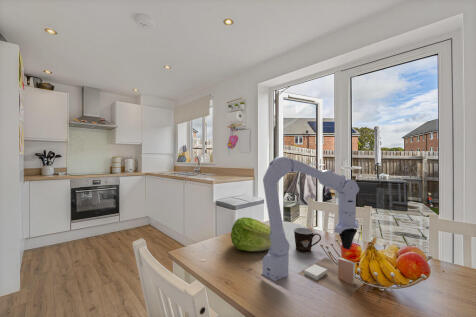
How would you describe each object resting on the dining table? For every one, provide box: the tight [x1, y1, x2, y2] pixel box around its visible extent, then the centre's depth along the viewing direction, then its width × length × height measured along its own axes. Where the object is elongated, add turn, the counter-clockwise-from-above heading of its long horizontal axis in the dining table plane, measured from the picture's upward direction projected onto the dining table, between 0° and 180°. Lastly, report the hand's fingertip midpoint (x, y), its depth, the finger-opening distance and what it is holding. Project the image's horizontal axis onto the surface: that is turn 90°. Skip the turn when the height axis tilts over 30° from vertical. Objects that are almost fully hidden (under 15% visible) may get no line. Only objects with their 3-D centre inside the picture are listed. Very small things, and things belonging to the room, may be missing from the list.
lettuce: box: [230, 216, 271, 253], centre depth 104 cm, size 17×24×14 cm
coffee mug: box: [293, 227, 322, 254], centre depth 99 cm, size 12×9×10 cm
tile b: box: [337, 257, 356, 285], centre depth 75 cm, size 2×5×7 cm, turn 39°
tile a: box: [303, 263, 327, 280], centre depth 79 cm, size 2×5×7 cm
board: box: [297, 257, 365, 299], centre depth 79 cm, size 20×18×1 cm
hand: (346, 248), depth 79 cm, fingers closed
